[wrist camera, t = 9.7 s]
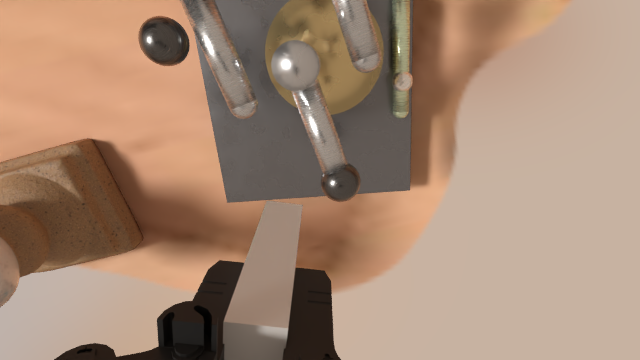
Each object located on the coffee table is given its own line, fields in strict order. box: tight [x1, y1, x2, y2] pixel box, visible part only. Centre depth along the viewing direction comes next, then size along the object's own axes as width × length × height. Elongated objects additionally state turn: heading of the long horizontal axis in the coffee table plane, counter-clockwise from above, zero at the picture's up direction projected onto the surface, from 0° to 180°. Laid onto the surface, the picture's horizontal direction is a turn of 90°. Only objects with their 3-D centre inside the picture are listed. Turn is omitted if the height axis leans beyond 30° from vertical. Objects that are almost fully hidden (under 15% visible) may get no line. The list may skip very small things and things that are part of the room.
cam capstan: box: [139, 0, 384, 202], centre depth 21 cm, size 14×14×9 cm
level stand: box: [195, 0, 413, 203], centre depth 25 cm, size 22×16×4 cm
